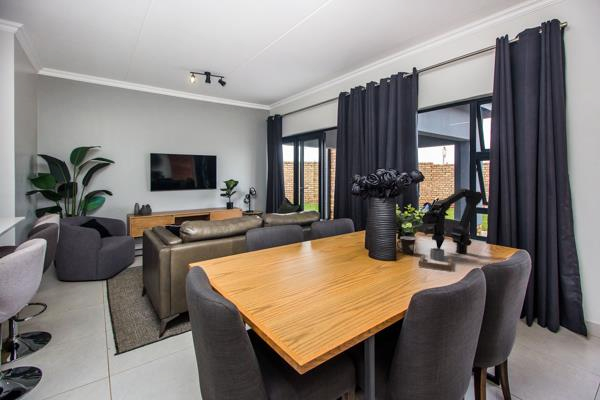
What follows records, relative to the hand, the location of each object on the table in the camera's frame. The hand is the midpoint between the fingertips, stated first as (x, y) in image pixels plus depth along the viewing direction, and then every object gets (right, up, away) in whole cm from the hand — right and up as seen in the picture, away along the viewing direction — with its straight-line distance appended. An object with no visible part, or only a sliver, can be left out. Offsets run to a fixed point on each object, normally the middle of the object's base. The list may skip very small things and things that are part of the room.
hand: (438, 249), depth 169 cm
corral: (-10, -6, -17) cm, 20 cm away
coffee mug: (-18, -4, +5) cm, 19 cm away
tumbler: (-5, -5, -7) cm, 10 cm away
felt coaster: (+7, -5, -9) cm, 12 cm away
